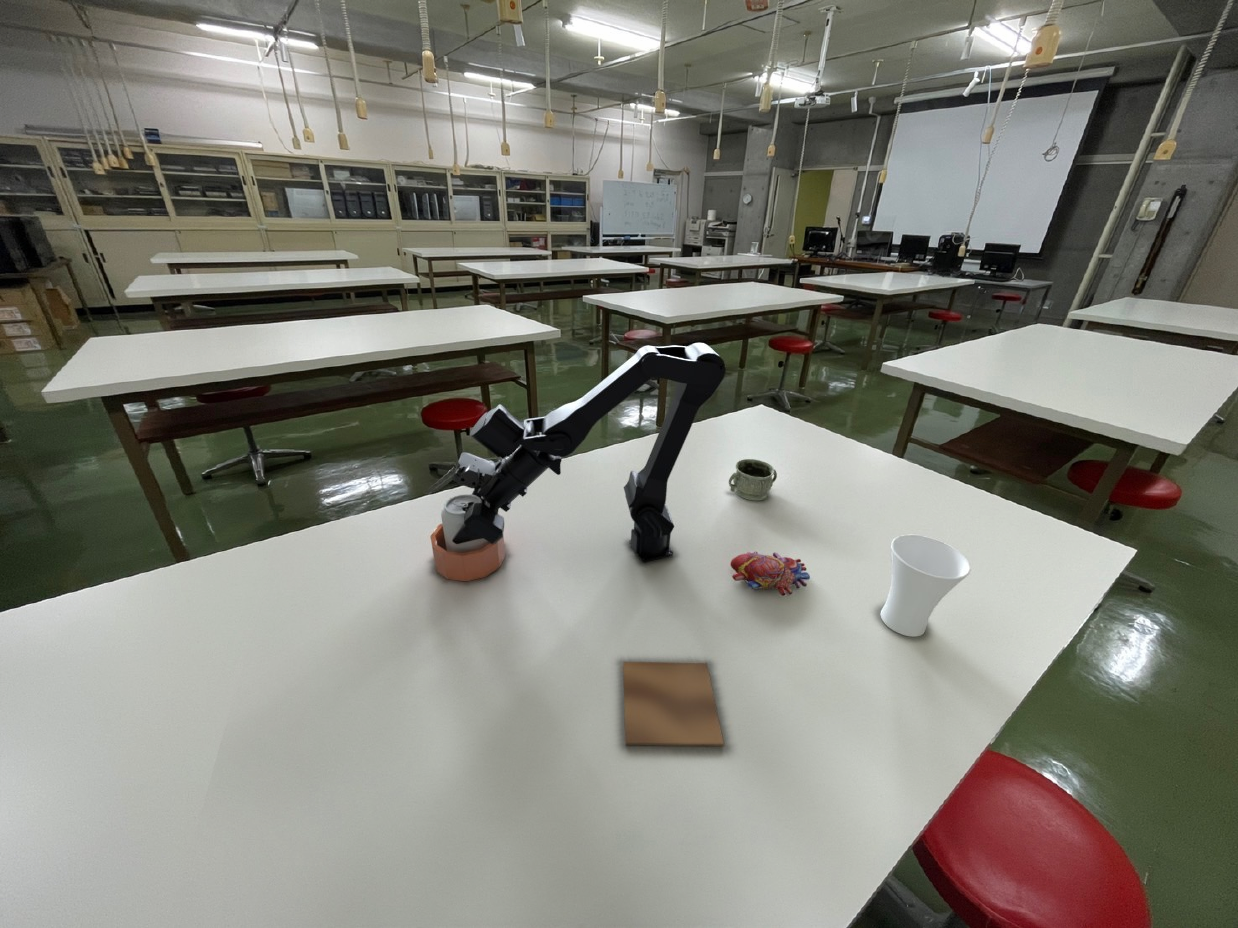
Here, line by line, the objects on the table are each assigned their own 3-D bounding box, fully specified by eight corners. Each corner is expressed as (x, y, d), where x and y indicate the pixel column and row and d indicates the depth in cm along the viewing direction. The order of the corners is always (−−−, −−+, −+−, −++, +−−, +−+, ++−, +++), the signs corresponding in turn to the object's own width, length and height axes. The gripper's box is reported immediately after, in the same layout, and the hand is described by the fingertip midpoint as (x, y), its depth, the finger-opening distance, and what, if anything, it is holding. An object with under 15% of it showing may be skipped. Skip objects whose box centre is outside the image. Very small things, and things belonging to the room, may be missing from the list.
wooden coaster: (623, 663, 71) (623, 661, 71) (706, 664, 71) (706, 662, 71) (625, 745, 61) (625, 743, 60) (723, 745, 61) (723, 743, 61)
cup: (932, 608, 83) (961, 542, 77) (946, 655, 74) (980, 586, 68) (864, 592, 86) (887, 528, 80) (870, 636, 77) (896, 568, 71)
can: (480, 575, 86) (473, 517, 81) (440, 568, 88) (430, 511, 82) (498, 549, 93) (492, 494, 87) (460, 542, 94) (453, 488, 88)
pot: (497, 532, 97) (495, 509, 95) (510, 571, 87) (508, 546, 85) (432, 546, 93) (428, 521, 90) (438, 587, 83) (434, 562, 81)
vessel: (764, 479, 120) (768, 456, 117) (784, 499, 112) (789, 474, 109) (718, 484, 117) (722, 461, 114) (735, 504, 109) (739, 480, 106)
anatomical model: (720, 550, 88) (783, 540, 94) (715, 567, 89) (777, 556, 96) (762, 591, 79) (828, 576, 85) (756, 609, 80) (821, 593, 87)
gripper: (486, 418, 88) (430, 474, 92) (472, 470, 71) (404, 535, 75) (534, 457, 92) (478, 509, 96) (530, 513, 76) (464, 573, 80)
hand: (458, 528), depth 87 cm, fingers closed on can, 7 cm apart
